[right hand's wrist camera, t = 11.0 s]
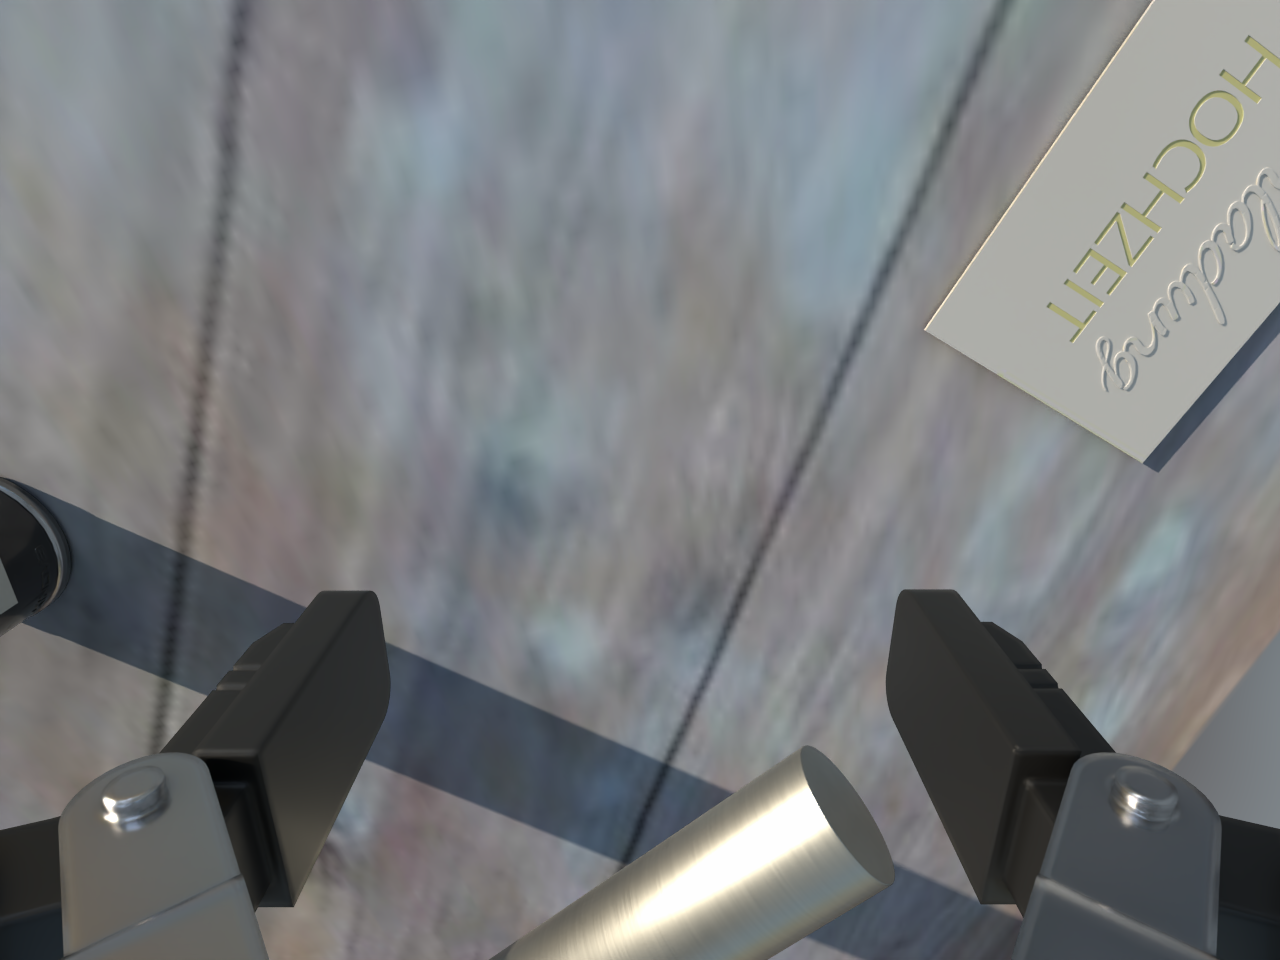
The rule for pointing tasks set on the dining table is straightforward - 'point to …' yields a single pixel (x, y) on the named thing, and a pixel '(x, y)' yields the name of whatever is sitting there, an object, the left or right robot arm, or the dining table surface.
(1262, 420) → the dining table surface
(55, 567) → the left robot arm
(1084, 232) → the invitation card
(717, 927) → the rod
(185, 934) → the right robot arm
